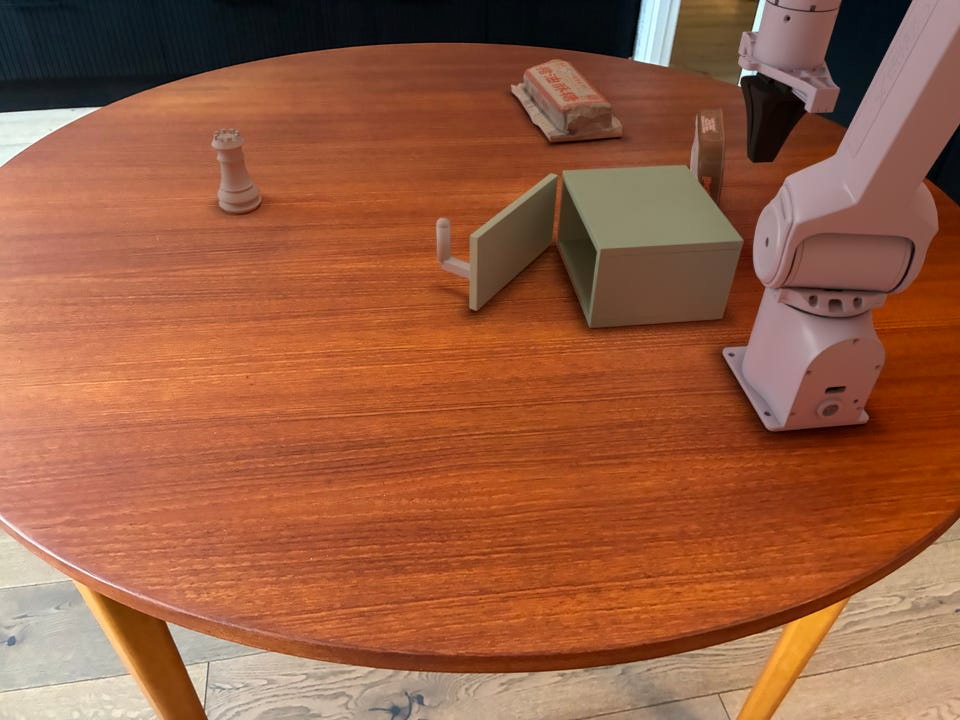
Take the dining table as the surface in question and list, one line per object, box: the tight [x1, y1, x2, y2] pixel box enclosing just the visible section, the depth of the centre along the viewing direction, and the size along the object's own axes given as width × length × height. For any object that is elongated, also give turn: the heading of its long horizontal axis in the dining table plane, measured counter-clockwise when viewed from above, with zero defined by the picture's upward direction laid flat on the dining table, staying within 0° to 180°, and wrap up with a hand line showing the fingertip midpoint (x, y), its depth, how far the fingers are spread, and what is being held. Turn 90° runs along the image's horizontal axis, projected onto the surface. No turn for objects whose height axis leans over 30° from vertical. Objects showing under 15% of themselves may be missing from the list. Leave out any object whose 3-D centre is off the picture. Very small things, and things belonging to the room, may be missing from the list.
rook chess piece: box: [210, 127, 262, 215], centre depth 79 cm, size 4×4×8 cm
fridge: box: [555, 164, 744, 329], centre depth 69 cm, size 12×14×8 cm
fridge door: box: [435, 172, 559, 312], centre depth 70 cm, size 5×14×7 cm, turn 147°
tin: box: [689, 107, 726, 207], centre depth 82 cm, size 15×3×8 cm, turn 168°
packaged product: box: [510, 58, 624, 143], centre depth 100 cm, size 18×5×10 cm
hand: (760, 159), depth 70 cm, fingers closed
